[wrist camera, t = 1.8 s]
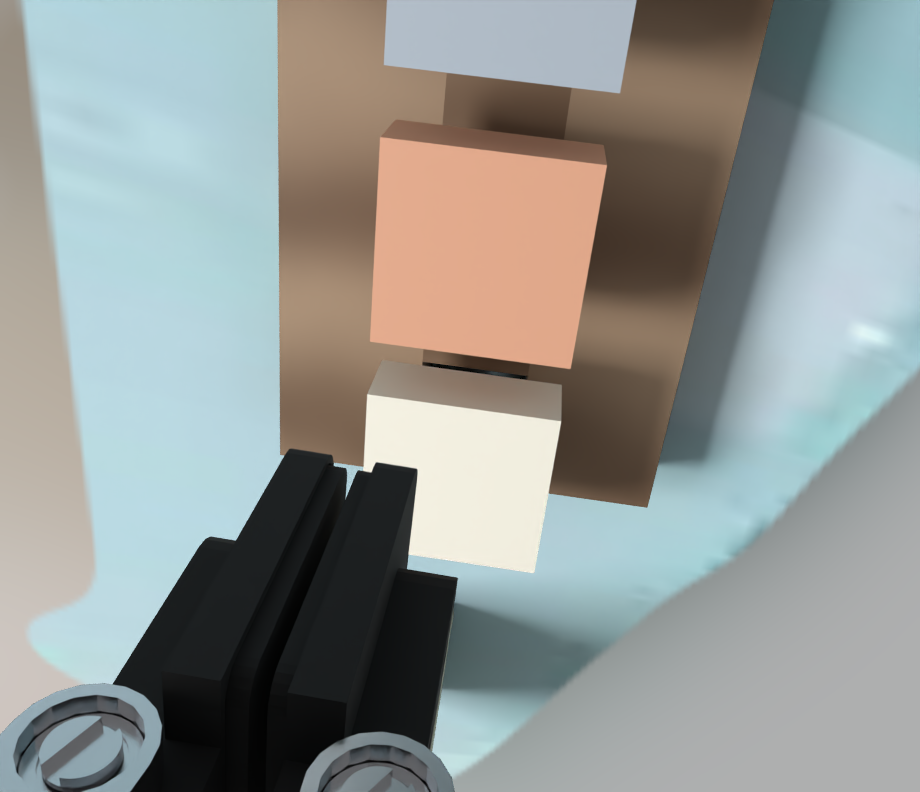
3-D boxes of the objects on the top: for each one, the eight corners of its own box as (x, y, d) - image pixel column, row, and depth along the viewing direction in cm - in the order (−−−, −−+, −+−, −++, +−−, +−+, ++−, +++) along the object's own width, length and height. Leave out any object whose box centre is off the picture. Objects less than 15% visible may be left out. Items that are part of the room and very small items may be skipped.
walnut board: (305, -198, 22) (276, -212, 19) (787, -148, 21) (812, -156, 19) (301, 416, 30) (280, 454, 28) (641, 464, 30) (647, 507, 28)
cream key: (397, 323, 26) (367, 394, 22) (562, 346, 26) (561, 421, 22) (388, 461, 28) (359, 547, 25) (538, 483, 28) (534, 573, 24)
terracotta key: (412, 100, 23) (379, 137, 19) (600, 123, 23) (607, 165, 19) (400, 277, 25) (370, 341, 21) (570, 300, 25) (570, 369, 21)
